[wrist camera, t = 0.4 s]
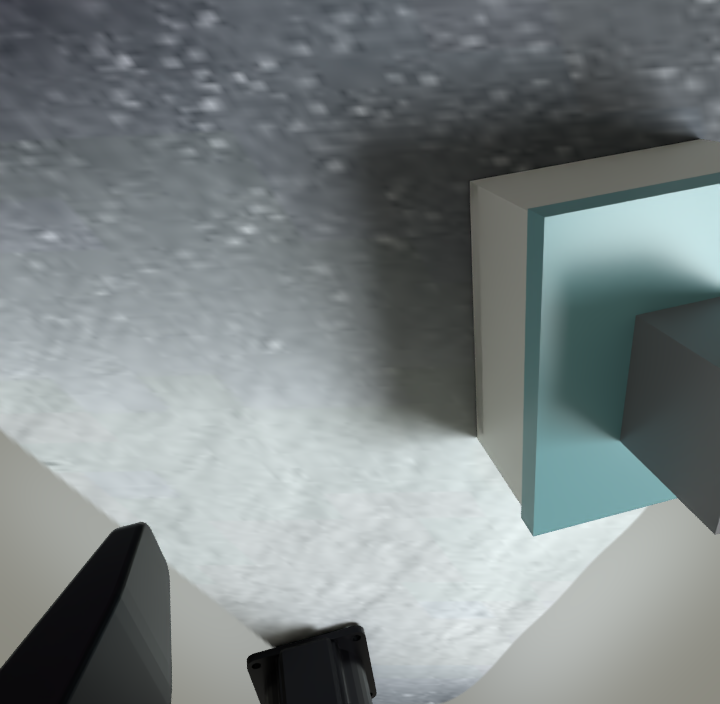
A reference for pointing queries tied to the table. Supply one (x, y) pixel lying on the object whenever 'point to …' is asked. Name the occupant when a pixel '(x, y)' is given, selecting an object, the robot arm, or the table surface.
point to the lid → (623, 355)
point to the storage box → (508, 271)
